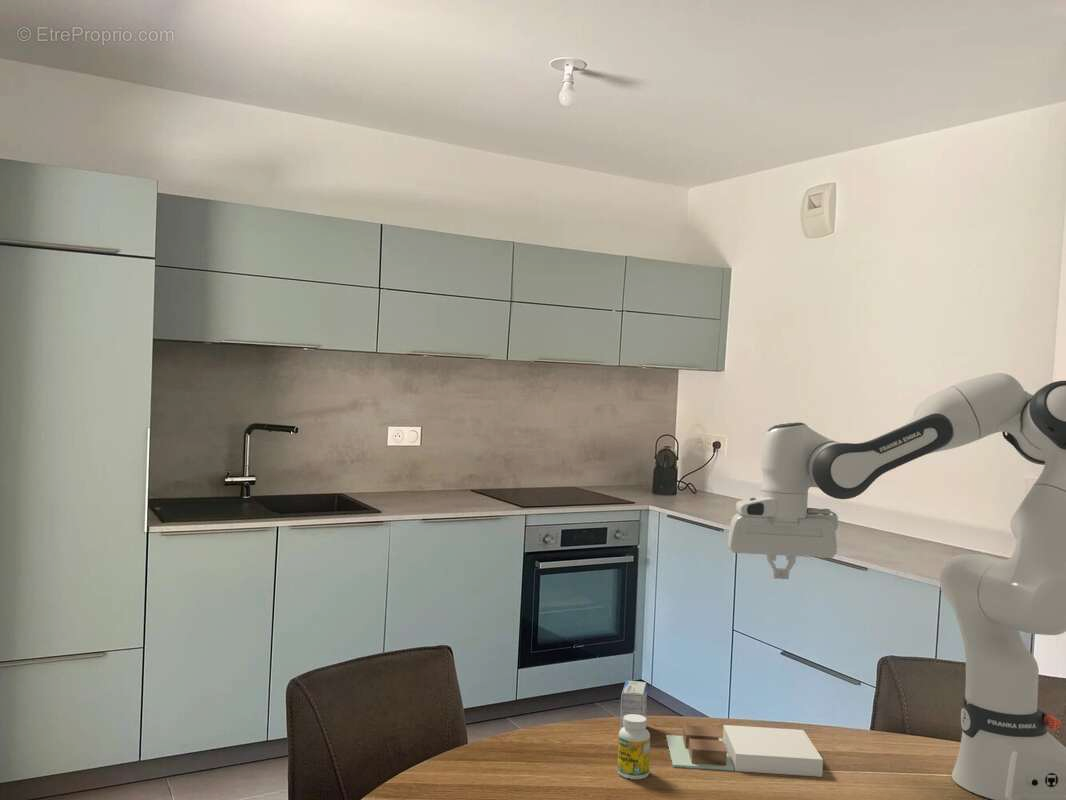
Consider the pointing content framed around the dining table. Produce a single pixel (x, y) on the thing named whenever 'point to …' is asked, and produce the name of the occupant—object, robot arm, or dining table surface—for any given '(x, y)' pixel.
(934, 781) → the dining table surface
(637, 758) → the supplement bottle
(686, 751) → the mat
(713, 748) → the near tile
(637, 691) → the medicine box
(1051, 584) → the robot arm
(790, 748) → the white flat block
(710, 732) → the far tile
